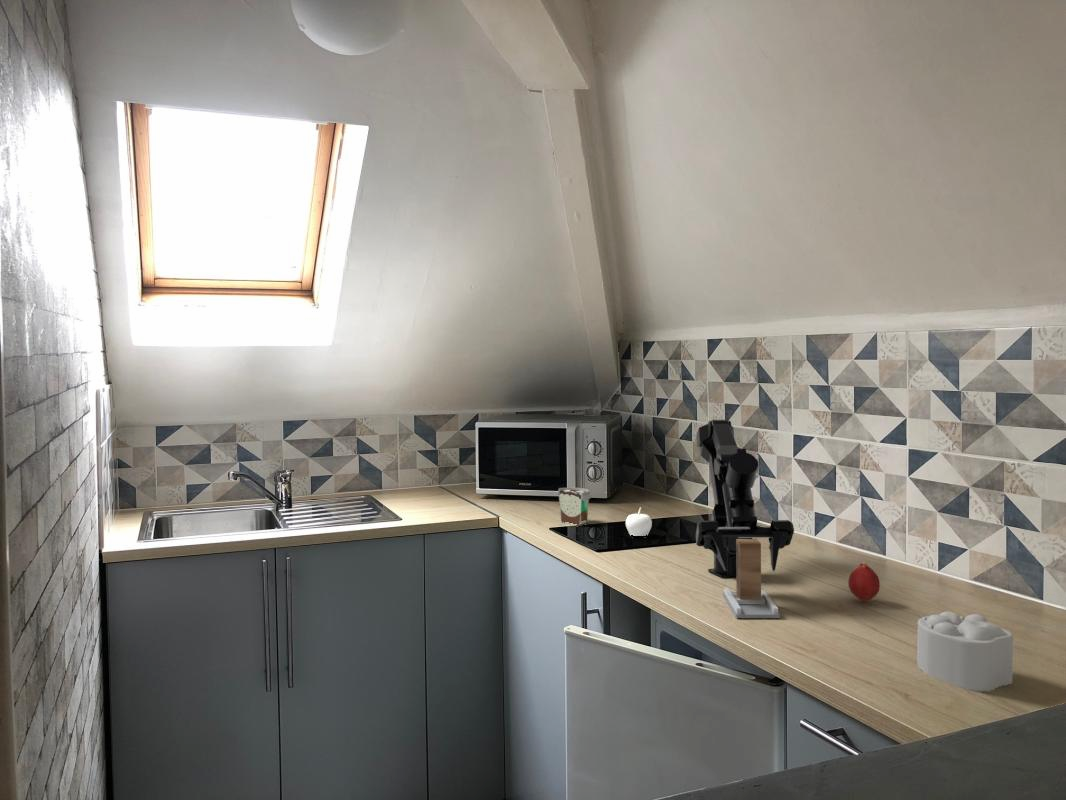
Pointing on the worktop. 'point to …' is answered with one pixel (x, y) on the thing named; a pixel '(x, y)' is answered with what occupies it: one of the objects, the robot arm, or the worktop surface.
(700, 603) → the worktop surface
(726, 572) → the robot arm
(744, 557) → the brown rectangular block
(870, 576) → the onion
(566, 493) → the food container
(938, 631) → the lumpy-topped squat cylinder
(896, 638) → the worktop surface
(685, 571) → the worktop surface
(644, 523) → the plain white apple
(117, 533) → the worktop surface
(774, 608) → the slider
